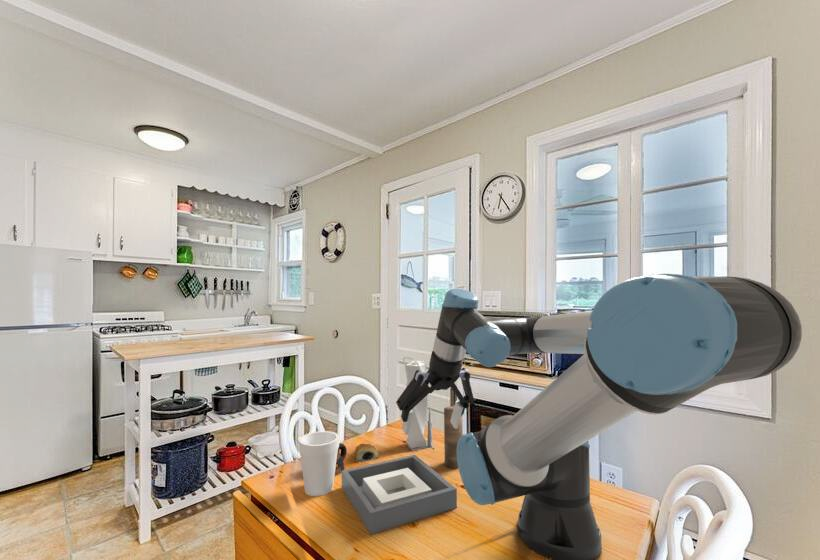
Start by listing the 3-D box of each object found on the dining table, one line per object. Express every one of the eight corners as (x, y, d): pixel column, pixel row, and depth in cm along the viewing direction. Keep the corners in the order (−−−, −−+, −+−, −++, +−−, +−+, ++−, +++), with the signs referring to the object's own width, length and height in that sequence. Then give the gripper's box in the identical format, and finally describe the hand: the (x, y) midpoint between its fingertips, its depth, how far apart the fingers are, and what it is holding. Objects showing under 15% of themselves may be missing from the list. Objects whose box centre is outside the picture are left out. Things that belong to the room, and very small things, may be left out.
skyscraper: (407, 452, 113) (407, 359, 114) (400, 442, 120) (400, 355, 122) (434, 449, 115) (433, 357, 116) (425, 439, 123) (424, 354, 124)
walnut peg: (466, 469, 101) (465, 410, 102) (451, 473, 99) (450, 412, 100) (456, 462, 106) (455, 405, 107) (441, 466, 104) (440, 407, 104)
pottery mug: (332, 487, 94) (316, 458, 94) (310, 493, 99) (295, 466, 99) (360, 457, 104) (345, 431, 105) (339, 464, 109) (325, 439, 109)
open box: (456, 512, 82) (456, 488, 82) (370, 539, 73) (370, 513, 73) (414, 473, 99) (414, 454, 100) (341, 491, 91) (341, 470, 91)
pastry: (352, 451, 114) (352, 439, 115) (374, 449, 116) (374, 436, 116) (356, 465, 105) (356, 451, 106) (380, 462, 107) (380, 448, 107)
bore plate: (431, 503, 83) (431, 489, 84) (381, 517, 78) (381, 503, 78) (408, 479, 94) (407, 467, 94) (362, 491, 89) (362, 478, 89)
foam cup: (291, 493, 90) (291, 438, 91) (323, 479, 97) (324, 428, 97) (313, 508, 83) (313, 449, 84) (346, 492, 90) (346, 437, 91)
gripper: (484, 344, 95) (465, 413, 102) (392, 346, 85) (378, 422, 92) (501, 360, 89) (479, 432, 95) (403, 364, 79) (387, 445, 85)
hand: (430, 428), depth 94 cm, fingers open, 13 cm apart
